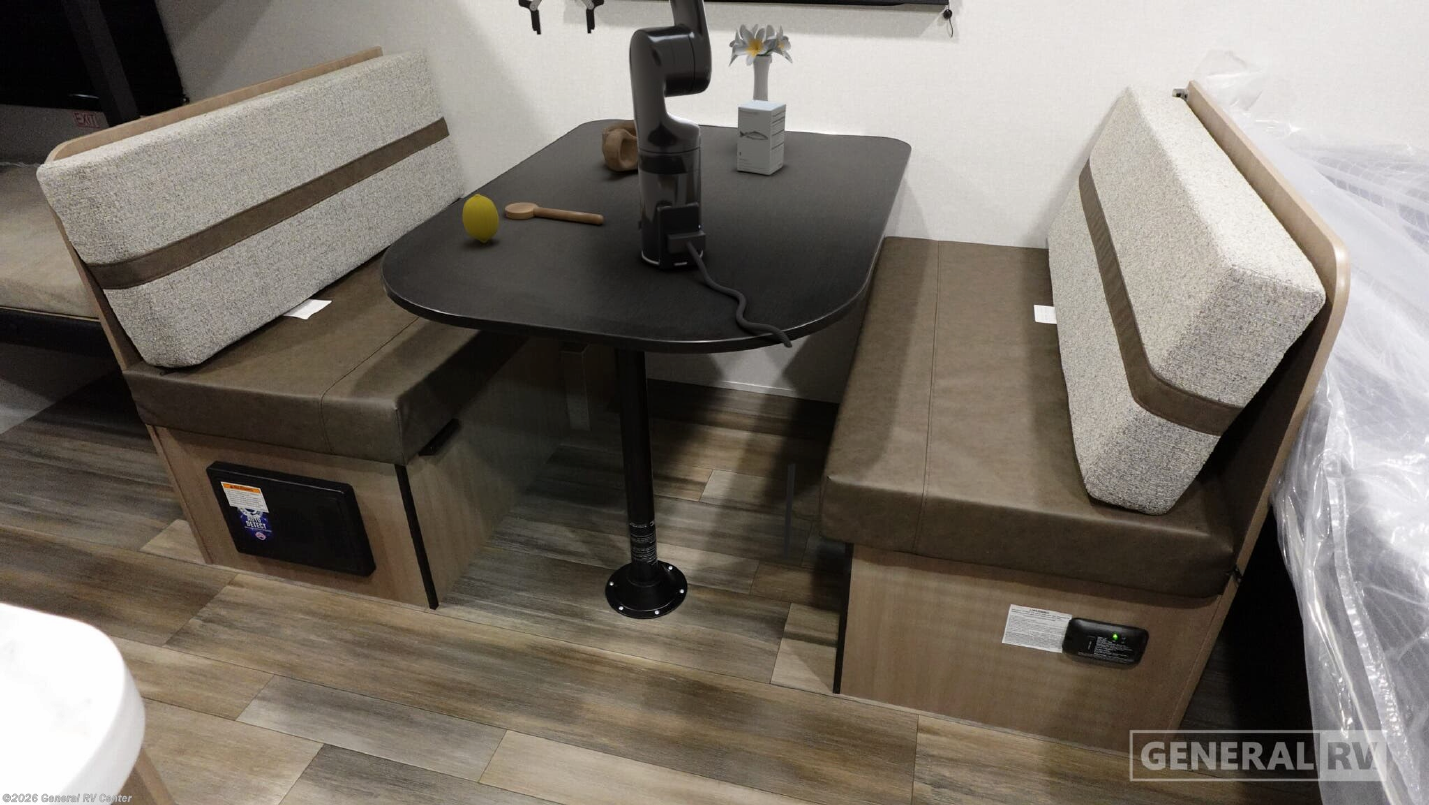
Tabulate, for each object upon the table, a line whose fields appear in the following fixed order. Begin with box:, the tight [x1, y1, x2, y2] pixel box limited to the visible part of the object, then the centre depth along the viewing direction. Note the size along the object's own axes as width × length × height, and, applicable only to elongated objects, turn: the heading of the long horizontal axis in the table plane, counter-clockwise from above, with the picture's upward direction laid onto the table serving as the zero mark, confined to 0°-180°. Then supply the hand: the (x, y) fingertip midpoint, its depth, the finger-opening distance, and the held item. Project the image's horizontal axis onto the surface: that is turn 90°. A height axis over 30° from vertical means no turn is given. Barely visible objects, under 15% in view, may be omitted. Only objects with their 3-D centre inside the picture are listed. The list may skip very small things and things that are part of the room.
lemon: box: [462, 193, 500, 244], centre depth 140 cm, size 6×6×8 cm
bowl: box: [601, 118, 638, 172], centre depth 175 cm, size 18×14×10 cm
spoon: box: [504, 202, 604, 225], centre depth 152 cm, size 19×6×2 cm, turn 70°
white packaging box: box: [736, 99, 787, 176], centre depth 174 cm, size 7×7×13 cm
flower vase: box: [728, 23, 793, 101], centre depth 184 cm, size 13×18×25 cm
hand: (564, 33), depth 151 cm, fingers open, 8 cm apart
